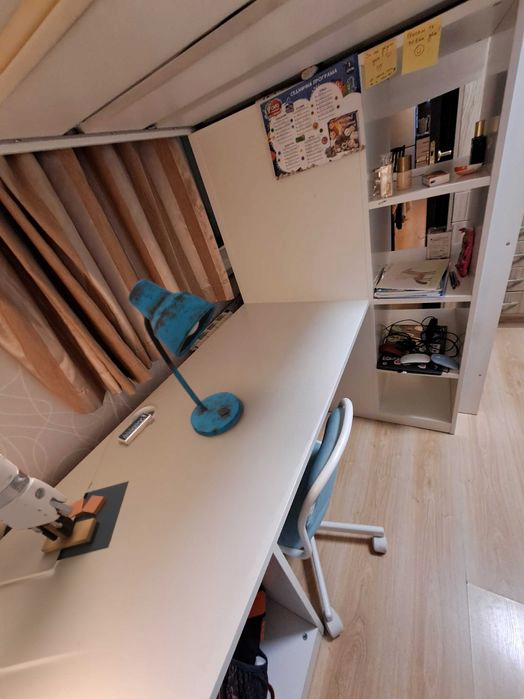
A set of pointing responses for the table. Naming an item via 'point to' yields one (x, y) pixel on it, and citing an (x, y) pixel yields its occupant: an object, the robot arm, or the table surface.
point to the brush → (72, 536)
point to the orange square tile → (94, 505)
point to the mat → (100, 519)
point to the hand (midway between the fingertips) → (64, 531)
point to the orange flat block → (77, 508)
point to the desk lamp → (184, 346)
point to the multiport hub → (135, 428)
